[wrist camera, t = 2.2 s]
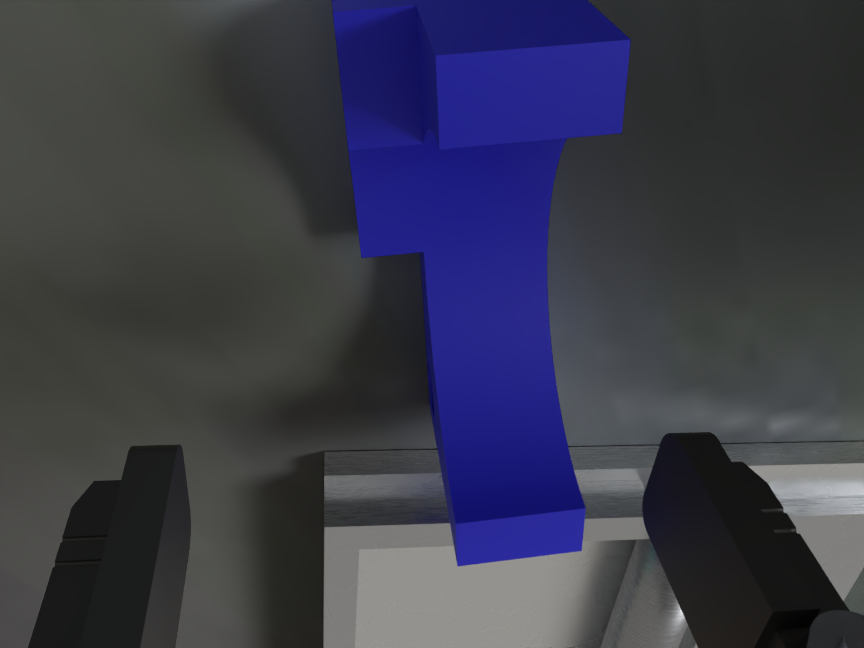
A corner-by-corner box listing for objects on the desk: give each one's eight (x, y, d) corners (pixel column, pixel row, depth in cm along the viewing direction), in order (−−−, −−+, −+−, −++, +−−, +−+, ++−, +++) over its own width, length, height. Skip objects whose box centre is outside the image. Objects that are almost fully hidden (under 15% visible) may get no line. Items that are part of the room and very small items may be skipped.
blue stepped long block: (330, -25, 17) (335, 64, 12) (542, -41, 17) (631, 39, 12) (378, 407, 24) (394, 574, 19) (528, 390, 24) (581, 551, 19)
